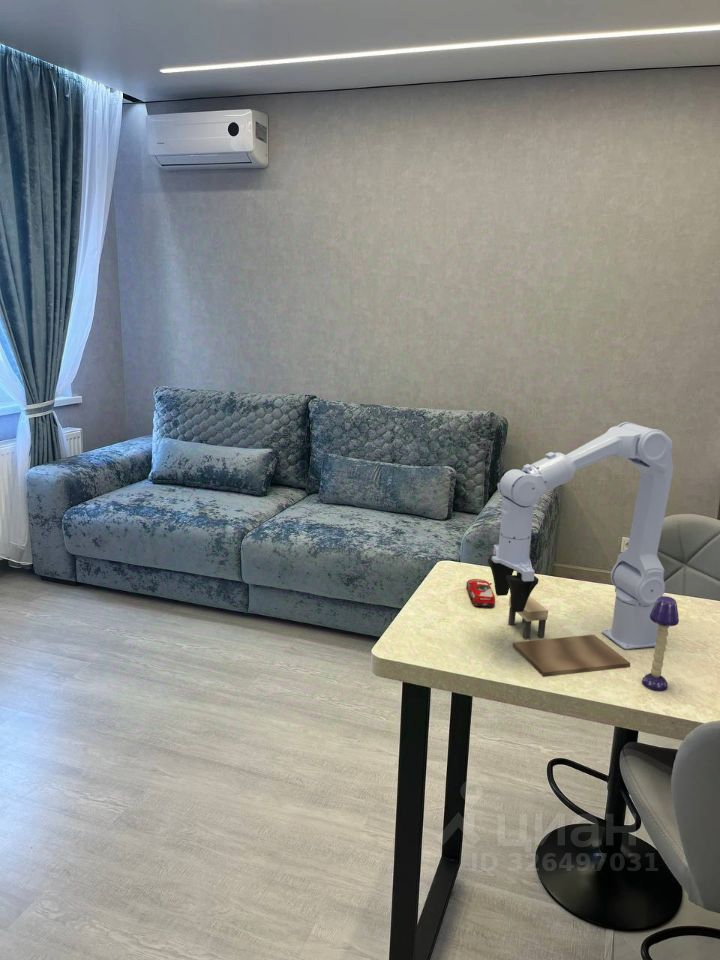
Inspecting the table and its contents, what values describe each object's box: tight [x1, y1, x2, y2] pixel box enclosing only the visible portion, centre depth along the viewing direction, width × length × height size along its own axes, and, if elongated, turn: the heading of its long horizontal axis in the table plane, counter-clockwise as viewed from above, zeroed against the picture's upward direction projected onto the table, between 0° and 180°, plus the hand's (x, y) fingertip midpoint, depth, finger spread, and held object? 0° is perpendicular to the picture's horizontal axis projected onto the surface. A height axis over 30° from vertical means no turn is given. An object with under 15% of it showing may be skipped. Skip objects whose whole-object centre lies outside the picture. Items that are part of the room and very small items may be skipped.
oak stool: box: [507, 595, 549, 640], centre depth 145 cm, size 4×8×6 cm, turn 15°
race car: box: [466, 578, 496, 608], centre depth 162 cm, size 13×5×4 cm, turn 178°
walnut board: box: [512, 634, 631, 677], centre depth 135 cm, size 18×12×1 cm, turn 105°
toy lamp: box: [641, 595, 680, 692], centre depth 124 cm, size 5×5×17 cm
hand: (509, 602), depth 134 cm, fingers open, 7 cm apart
